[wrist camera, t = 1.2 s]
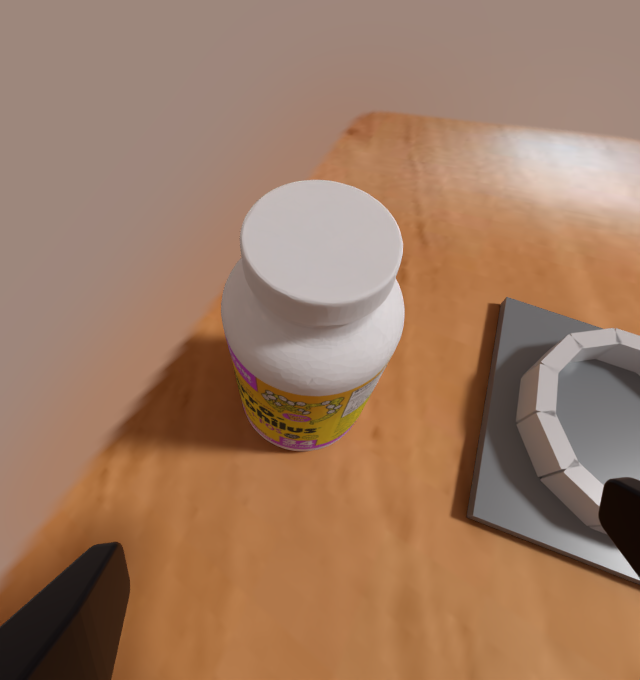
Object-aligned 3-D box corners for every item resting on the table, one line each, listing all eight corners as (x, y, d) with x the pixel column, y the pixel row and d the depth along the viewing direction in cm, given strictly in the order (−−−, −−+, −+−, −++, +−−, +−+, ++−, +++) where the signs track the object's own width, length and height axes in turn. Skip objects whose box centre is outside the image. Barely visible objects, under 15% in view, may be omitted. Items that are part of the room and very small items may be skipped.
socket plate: (757, 630, 19) (828, 641, 16) (466, 517, 20) (491, 511, 18) (717, 375, 25) (763, 356, 23) (500, 303, 27) (522, 278, 24)
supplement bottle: (217, 399, 22) (148, 232, 11) (297, 324, 25) (309, 128, 14) (308, 482, 20) (339, 388, 9) (384, 392, 23) (479, 233, 12)
